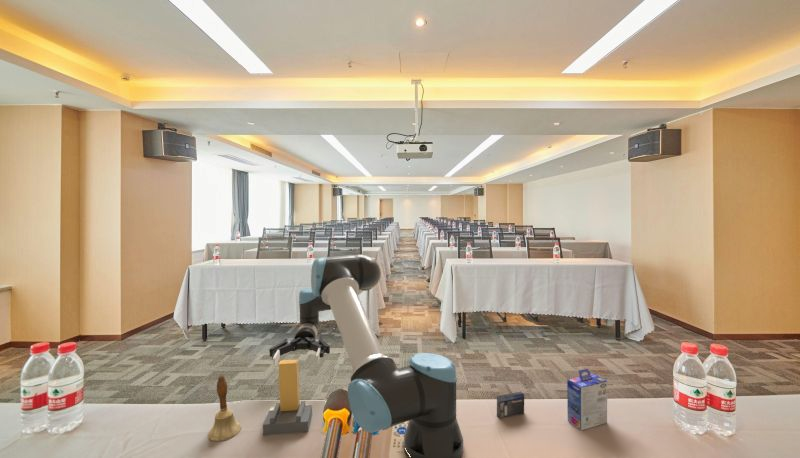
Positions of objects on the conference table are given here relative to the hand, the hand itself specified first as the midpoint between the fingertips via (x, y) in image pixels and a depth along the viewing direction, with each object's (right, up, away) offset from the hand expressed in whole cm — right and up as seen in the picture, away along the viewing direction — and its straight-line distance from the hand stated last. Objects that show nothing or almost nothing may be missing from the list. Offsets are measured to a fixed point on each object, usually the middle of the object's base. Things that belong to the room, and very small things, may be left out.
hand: (295, 361), depth 115 cm
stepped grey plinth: (+2, -13, -14) cm, 19 cm away
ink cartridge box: (+86, -12, -14) cm, 88 cm away
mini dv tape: (+66, -12, -10) cm, 68 cm away
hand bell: (-15, -14, -16) cm, 26 cm away
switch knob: (+2, -10, -11) cm, 15 cm away
